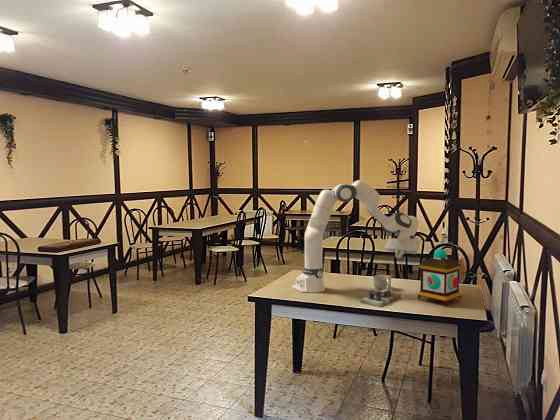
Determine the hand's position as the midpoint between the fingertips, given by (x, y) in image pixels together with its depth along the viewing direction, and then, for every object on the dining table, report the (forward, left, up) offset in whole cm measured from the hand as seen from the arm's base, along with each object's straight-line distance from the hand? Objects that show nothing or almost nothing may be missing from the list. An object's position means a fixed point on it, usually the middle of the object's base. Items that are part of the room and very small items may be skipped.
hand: (397, 257), depth 257 cm
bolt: (+3, -14, -19) cm, 24 cm away
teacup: (-13, +2, -22) cm, 26 cm away
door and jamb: (+4, -19, -22) cm, 30 cm away
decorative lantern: (+25, +6, -22) cm, 34 cm away
